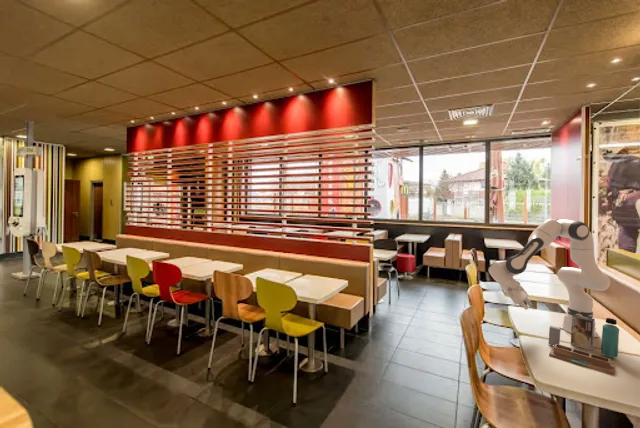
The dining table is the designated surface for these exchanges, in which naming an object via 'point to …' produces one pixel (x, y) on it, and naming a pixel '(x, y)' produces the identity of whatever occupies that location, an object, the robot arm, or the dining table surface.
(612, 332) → the beverage bottle
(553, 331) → the panel
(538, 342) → the dining table surface
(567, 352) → the rack
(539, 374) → the dining table surface
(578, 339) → the coffee box
